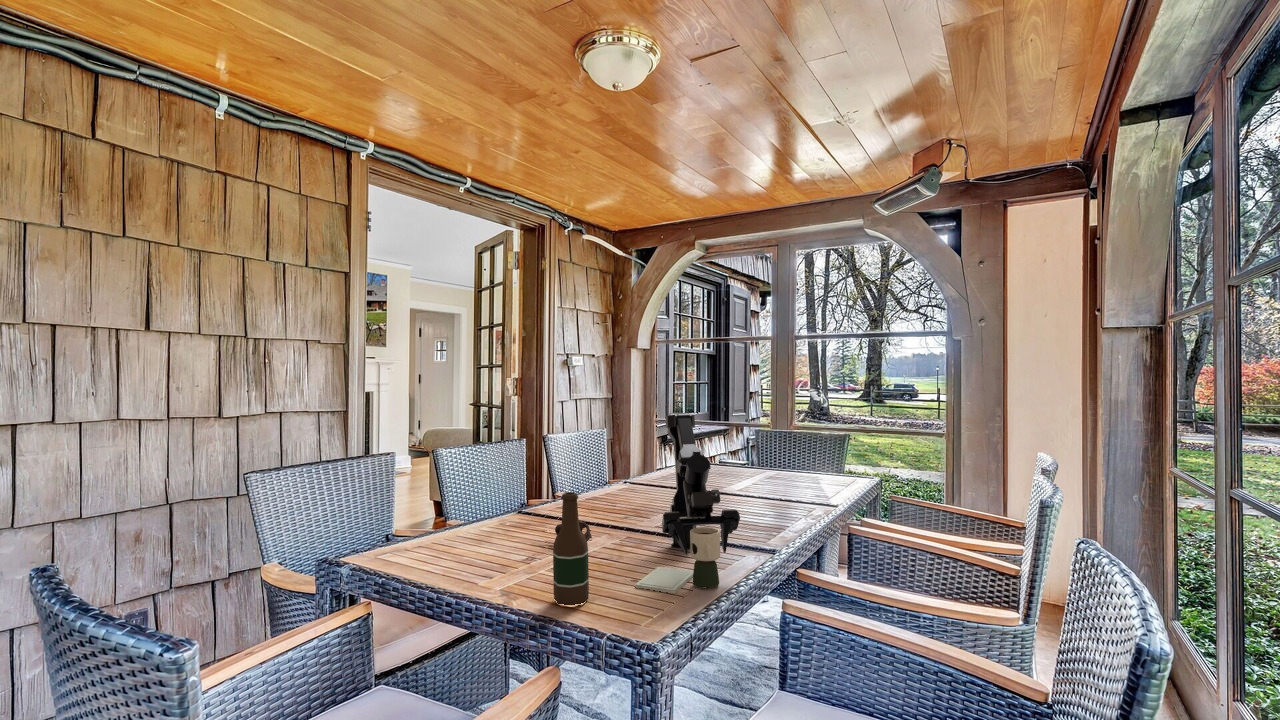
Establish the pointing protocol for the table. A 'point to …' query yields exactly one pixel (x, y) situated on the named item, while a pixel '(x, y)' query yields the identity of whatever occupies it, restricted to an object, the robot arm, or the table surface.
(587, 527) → the pottery mug
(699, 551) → the character mug
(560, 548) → the beer bottle
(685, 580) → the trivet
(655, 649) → the table surface
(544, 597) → the table surface
